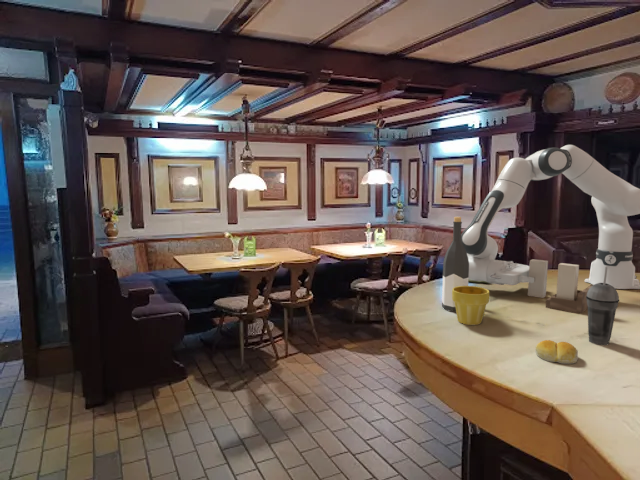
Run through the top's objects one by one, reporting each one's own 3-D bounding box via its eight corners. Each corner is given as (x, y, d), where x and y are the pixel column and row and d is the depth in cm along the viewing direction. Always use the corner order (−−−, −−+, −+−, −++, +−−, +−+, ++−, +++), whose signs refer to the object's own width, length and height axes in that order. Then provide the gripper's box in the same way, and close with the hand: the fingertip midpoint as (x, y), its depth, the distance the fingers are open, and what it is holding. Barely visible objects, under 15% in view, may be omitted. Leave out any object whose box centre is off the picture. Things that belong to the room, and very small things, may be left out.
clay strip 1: (530, 297, 160) (532, 259, 158) (545, 300, 156) (548, 260, 155) (527, 299, 158) (529, 260, 156) (542, 302, 154) (545, 262, 152)
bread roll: (537, 349, 113) (538, 333, 112) (578, 356, 108) (579, 340, 107) (532, 360, 106) (533, 343, 105) (576, 368, 101) (577, 351, 100)
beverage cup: (611, 338, 119) (617, 264, 116) (619, 348, 112) (626, 269, 109) (579, 335, 121) (585, 262, 118) (586, 345, 114) (592, 268, 111)
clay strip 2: (558, 305, 144) (561, 263, 142) (575, 308, 141) (579, 265, 139) (555, 307, 142) (558, 264, 140) (573, 310, 139) (576, 266, 137)
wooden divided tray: (560, 301, 154) (562, 280, 153) (594, 307, 148) (595, 285, 147) (545, 311, 143) (546, 288, 142) (580, 318, 136) (582, 294, 135)
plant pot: (469, 329, 126) (471, 295, 125) (443, 319, 136) (444, 288, 134) (495, 324, 131) (497, 291, 130) (469, 314, 140) (470, 284, 139)
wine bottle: (468, 306, 149) (472, 216, 145) (465, 313, 142) (469, 218, 138) (443, 303, 153) (446, 215, 149) (439, 310, 145) (442, 217, 141)
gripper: (487, 268, 157) (529, 273, 148) (510, 260, 172) (549, 264, 163) (487, 285, 158) (527, 292, 149) (509, 276, 173) (548, 281, 163)
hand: (539, 277), depth 156 cm, fingers open, 8 cm apart
